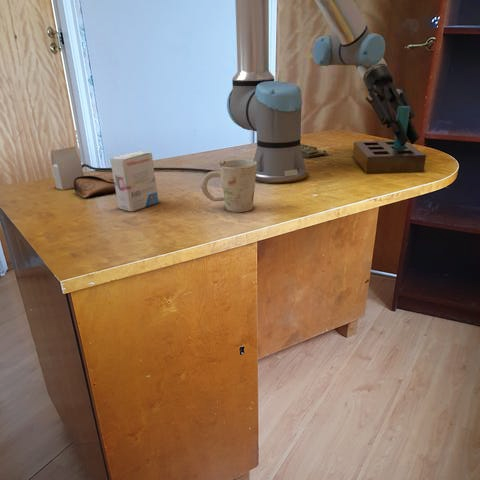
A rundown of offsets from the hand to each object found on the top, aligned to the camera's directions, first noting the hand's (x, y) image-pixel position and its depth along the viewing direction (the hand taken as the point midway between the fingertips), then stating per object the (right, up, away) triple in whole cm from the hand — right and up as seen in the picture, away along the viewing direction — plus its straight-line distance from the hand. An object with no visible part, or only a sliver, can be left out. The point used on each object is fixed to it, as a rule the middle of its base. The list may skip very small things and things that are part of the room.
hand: (410, 141), depth 139 cm
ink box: (-72, -23, -22) cm, 79 cm away
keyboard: (-28, +6, +26) cm, 39 cm away
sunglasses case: (-82, -16, -8) cm, 84 cm away
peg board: (-5, -4, +6) cm, 9 cm away
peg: (-2, -2, +5) cm, 6 cm away
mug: (-50, -25, -26) cm, 62 cm away
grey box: (-94, -14, -3) cm, 95 cm away
